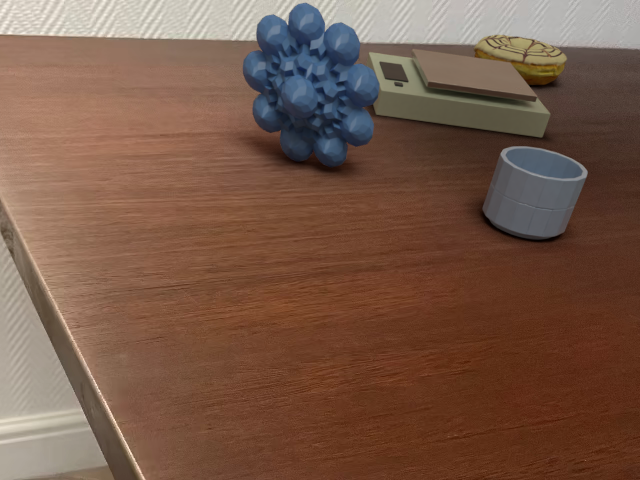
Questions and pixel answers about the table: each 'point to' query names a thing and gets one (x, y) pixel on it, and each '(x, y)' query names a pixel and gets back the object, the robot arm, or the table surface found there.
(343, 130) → the blue knobbed flower
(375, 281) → the table surface
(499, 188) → the cup
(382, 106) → the scale
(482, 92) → the scale pan
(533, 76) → the decorated donut
